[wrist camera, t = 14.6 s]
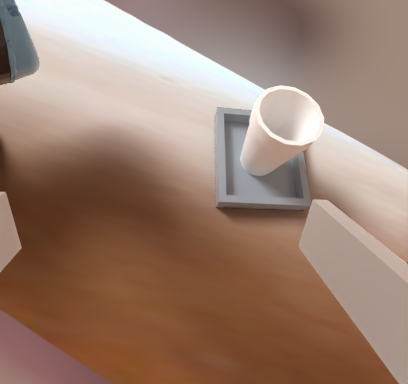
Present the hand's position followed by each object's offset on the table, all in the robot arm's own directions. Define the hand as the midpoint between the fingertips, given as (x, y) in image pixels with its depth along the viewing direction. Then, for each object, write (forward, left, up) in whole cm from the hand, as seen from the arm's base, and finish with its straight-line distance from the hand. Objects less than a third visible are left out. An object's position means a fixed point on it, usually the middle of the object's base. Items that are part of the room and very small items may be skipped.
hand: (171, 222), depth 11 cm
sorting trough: (+15, +18, -28) cm, 36 cm away
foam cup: (+14, +18, -27) cm, 36 cm away
